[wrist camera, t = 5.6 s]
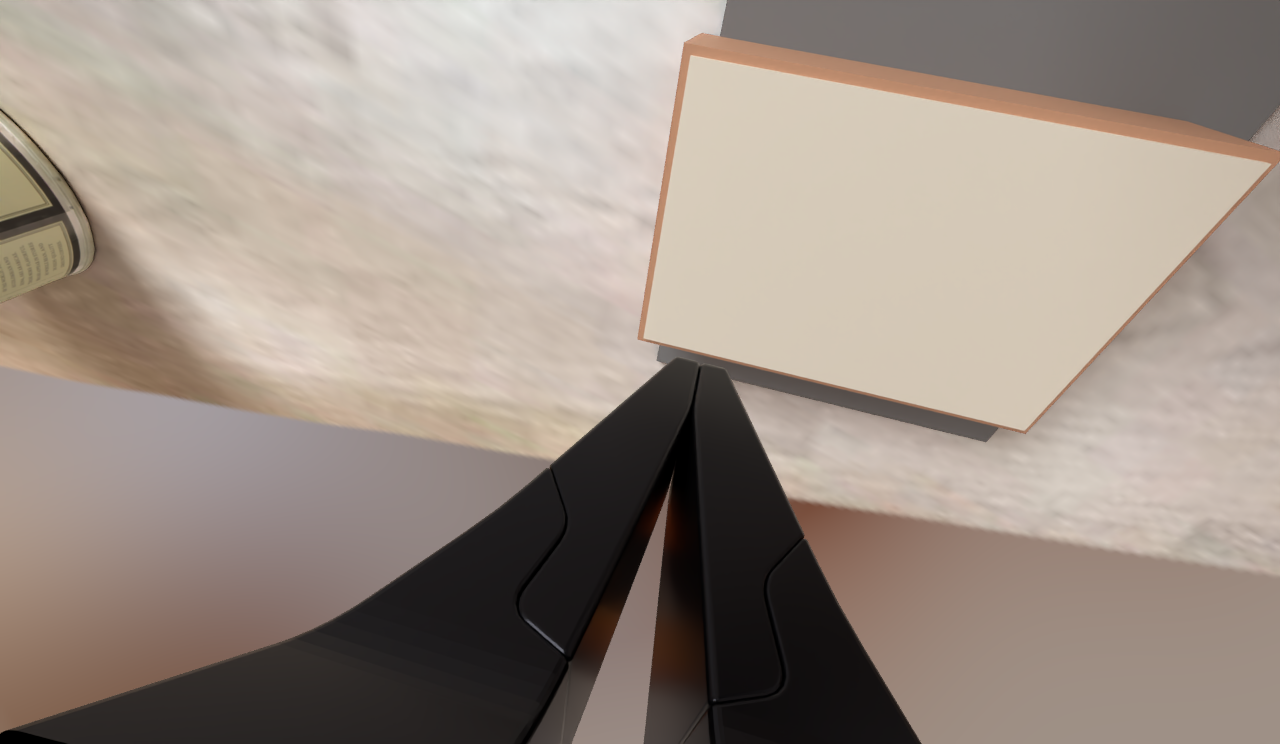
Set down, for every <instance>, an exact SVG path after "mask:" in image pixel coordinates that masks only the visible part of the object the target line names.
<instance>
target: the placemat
mask: <svg viewBox="0 0 1280 744" xmlns="http://www.w3.org/2000/svg"><path fill="white" fill-rule="evenodd" d="M720 37H726V38H731V39H737V40H742V41H748V42H753V43H759V44H764V45H770V46H775V47H781V48H786V49H792V50H797V51H803V52H808V53H814V54H820V55H825V56H831V57H836V58H842V59H847V60H853V61H858V62H864V63H869V64H875V65H880V66H886V67H891V68H897V69H902V70H908V71H913V72H919V73H924V74H930V75H935V76H941V77H946V78H952V79H957V80H963V81H968V82H974V83H979V84H985V85H990V86H996V87H1001V88H1007V89H1012V90H1018V91H1023V92H1029V93H1034V94H1040V95H1045V96H1051V97H1056V98H1062V99H1067V100H1073V101H1078V102H1084V103H1089V104H1095V105H1100V106H1106V107H1111V108H1117V109H1122V110H1128V111H1133V112H1139V113H1144V114H1150V115H1155V116H1161V117H1166V118H1172V119H1177V120H1183V121H1188V122H1191V123H1194V124H1197V125H1200V126H1203V127H1206V128H1209V129H1213V130H1216V131H1219V132H1222V133H1225V134H1228V135H1231V136H1234V137H1237V138H1240V139H1243V140H1246V141H1249V140H1250V139H1251V137H1252V136H1253V135H1254V134H1255V133H1256V132H1257V130H1258V129H1259V128H1260V127H1261V126H1262V125H1263V124H1264V122H1265V121H1266V120H1267V119H1268V118H1269V117H1270V116H1271V114H1272V113H1273V112H1274V111H1275V110H1276V109H1277V108H1278V106H1279V105H1280V0H727V4H726V9H725V14H724V19H723V24H722V29H721V34H720ZM675 357H681V358H685V359H689V360H693V361H697V362H698V363H699V364H700V366H701V365H702V364H704V363H705V364H710V365H714V366H718V367H722V368H725V369H726V370H727V372H728V374H729V376H730V378H731V379H732V380H736V381H740V382H745V383H749V384H753V385H757V386H761V387H765V388H769V389H773V390H777V391H781V392H785V393H789V394H793V395H797V396H801V397H805V398H809V399H813V400H818V401H822V402H826V403H830V404H834V405H838V406H842V407H846V408H850V409H854V410H858V411H862V412H866V413H870V414H874V415H878V416H882V417H886V418H891V419H895V420H899V421H903V422H907V423H911V424H915V425H919V426H923V427H927V428H931V429H935V430H939V431H943V432H947V433H951V434H955V435H959V436H964V437H968V438H972V439H976V440H980V441H984V442H987V441H988V439H989V438H990V437H991V436H992V435H993V434H994V432H995V431H996V430H997V429H998V428H999V427H996V426H991V425H987V424H983V423H979V422H975V421H971V420H967V419H963V418H959V417H954V416H950V415H946V414H942V413H938V412H934V411H930V410H926V409H922V408H917V407H913V406H909V405H905V404H901V403H897V402H893V401H889V400H885V399H880V398H876V397H872V396H868V395H864V394H860V393H856V392H852V391H848V390H843V389H839V388H835V387H831V386H827V385H823V384H819V383H815V382H811V381H806V380H802V379H798V378H794V377H790V376H786V375H782V374H778V373H774V372H769V371H765V370H761V369H757V368H753V367H749V366H745V365H741V364H737V363H732V362H728V361H724V360H720V359H716V358H712V357H708V356H704V355H700V354H695V353H691V352H687V351H683V350H679V349H675V348H671V347H667V346H663V345H660V346H659V351H658V356H657V361H659V362H663V363H667V364H668V363H669V362H670V361H671V360H673V359H674V358H675Z"/></svg>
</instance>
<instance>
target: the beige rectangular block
mask: <svg viewBox="0 0 1280 744" xmlns="http://www.w3.org/2000/svg"><path fill="white" fill-rule="evenodd" d="M1279 161H1280V151H1277V150H1274V149H1271V148H1268V147H1265V146H1262V145H1259V144H1256V143H1252V142H1249V141H1246V140H1243V139H1240V138H1237V137H1234V136H1231V135H1228V134H1225V133H1222V132H1219V131H1216V130H1213V129H1209V128H1206V127H1203V126H1200V125H1197V124H1194V123H1191V122H1188V121H1183V120H1177V119H1172V118H1166V117H1161V116H1155V115H1150V114H1144V113H1139V112H1133V111H1128V110H1122V109H1117V108H1111V107H1106V106H1100V105H1095V104H1089V103H1084V102H1078V101H1073V100H1067V99H1062V98H1056V97H1051V96H1045V95H1040V94H1034V93H1029V92H1023V91H1018V90H1012V89H1007V88H1001V87H996V86H990V85H985V84H979V83H974V82H968V81H963V80H957V79H952V78H946V77H941V76H935V75H930V74H924V73H919V72H913V71H908V70H902V69H897V68H891V67H886V66H880V65H875V64H869V63H864V62H858V61H853V60H847V59H842V58H836V57H831V56H825V55H820V54H814V53H808V52H803V51H797V50H792V49H786V48H781V47H775V46H770V45H764V44H759V43H753V42H748V41H742V40H737V39H731V38H726V37H720V36H715V35H709V34H704V33H701V34H699V35H697V36H695V37H694V38H692V39H690V40H688V41H686V42H684V47H683V53H682V60H681V66H680V72H679V79H678V85H677V91H676V98H675V104H674V110H673V117H672V123H671V129H670V136H669V142H668V149H667V155H666V161H665V168H664V174H663V180H662V187H661V193H660V199H659V206H658V212H657V218H656V225H655V231H654V237H653V244H652V250H651V256H650V263H649V269H648V276H647V282H646V288H645V295H644V301H643V307H642V314H641V320H640V326H639V333H638V340H642V341H646V342H650V343H654V344H658V345H663V346H667V347H671V348H675V349H679V350H683V351H687V352H691V353H695V354H700V355H704V356H708V357H712V358H716V359H720V360H724V361H728V362H732V363H737V364H741V365H745V366H749V367H753V368H757V369H761V370H765V371H769V372H774V373H778V374H782V375H786V376H790V377H794V378H798V379H802V380H806V381H811V382H815V383H819V384H823V385H827V386H831V387H835V388H839V389H843V390H848V391H852V392H856V393H860V394H864V395H868V396H872V397H876V398H880V399H885V400H889V401H893V402H897V403H901V404H905V405H909V406H913V407H917V408H922V409H926V410H930V411H934V412H938V413H942V414H946V415H950V416H954V417H959V418H963V419H967V420H971V421H975V422H979V423H983V424H987V425H991V426H996V427H1000V428H1004V429H1008V430H1012V431H1016V432H1020V433H1024V434H1026V433H1027V432H1028V430H1029V429H1030V428H1031V427H1032V426H1033V425H1034V424H1035V423H1036V422H1037V421H1038V420H1039V419H1040V418H1041V416H1042V415H1043V414H1044V413H1045V412H1046V411H1047V410H1048V409H1049V408H1050V407H1051V406H1052V405H1053V404H1054V403H1055V401H1056V400H1057V399H1058V398H1059V397H1060V396H1061V395H1062V394H1063V393H1064V392H1065V391H1066V390H1067V389H1068V388H1069V386H1070V385H1071V384H1072V383H1073V382H1074V381H1075V380H1076V379H1077V378H1078V377H1079V376H1080V375H1081V374H1082V373H1083V371H1084V370H1085V369H1086V368H1087V367H1088V366H1089V365H1090V364H1091V363H1092V362H1093V361H1094V360H1095V359H1096V357H1097V356H1098V355H1099V354H1100V353H1101V352H1102V351H1103V350H1104V349H1105V348H1106V347H1107V346H1108V345H1109V344H1110V342H1111V341H1112V340H1113V339H1114V338H1115V337H1116V336H1117V335H1118V334H1119V333H1120V332H1121V331H1122V330H1123V329H1124V327H1125V326H1126V325H1127V324H1128V323H1129V322H1130V321H1131V320H1132V319H1133V318H1134V317H1135V316H1136V315H1137V314H1138V312H1139V311H1140V310H1141V309H1142V308H1143V307H1144V306H1145V305H1146V304H1147V303H1148V302H1149V301H1150V300H1151V298H1152V297H1153V296H1154V295H1155V294H1156V293H1157V292H1158V291H1159V290H1160V289H1161V288H1162V287H1163V286H1164V285H1165V283H1166V282H1167V281H1168V280H1169V279H1170V278H1171V277H1172V276H1173V275H1174V274H1175V273H1176V272H1177V271H1178V270H1179V268H1180V267H1181V266H1182V265H1183V264H1184V263H1185V262H1186V261H1187V260H1188V259H1189V258H1190V257H1191V256H1192V255H1193V253H1194V252H1195V251H1196V250H1197V249H1198V248H1199V247H1200V246H1201V245H1202V244H1203V243H1204V242H1205V241H1206V240H1207V238H1208V237H1209V236H1210V235H1211V234H1212V233H1213V232H1214V231H1215V230H1216V229H1217V228H1218V227H1219V226H1220V224H1221V223H1222V222H1223V221H1224V220H1225V219H1226V218H1227V217H1228V216H1229V215H1230V214H1231V213H1232V212H1233V211H1234V209H1235V208H1236V207H1237V206H1238V205H1239V204H1240V203H1241V202H1242V201H1243V200H1244V199H1245V198H1246V197H1247V196H1248V194H1249V193H1250V192H1251V191H1252V190H1253V189H1254V188H1255V187H1256V186H1257V185H1258V184H1259V183H1260V182H1261V181H1262V179H1263V178H1264V177H1265V176H1266V175H1267V174H1268V173H1269V172H1270V171H1271V170H1272V169H1273V168H1274V167H1275V165H1276V164H1277V163H1278V162H1279Z"/></svg>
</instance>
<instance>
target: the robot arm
mask: <svg viewBox="0 0 1280 744" xmlns="http://www.w3.org/2000/svg"><path fill="white" fill-rule="evenodd" d="M672 475H673V476H672ZM671 479H672V481H671ZM670 482H671V486H670V491H669V499H668V509H667V518H666V528H665V537H664V548H663V557H662V567H661V578H660V588H659V597H658V607H657V617H656V627H655V637H654V647H653V657H652V666H651V667H652V668H651V676H650V686H649V696H648V707H647V716H646V726H645V736H644V744H921V742H920V741H919V739H918V737H917V735H916V734H915V732H914V730H913V729H912V727H911V725H910V724H909V722H908V721H907V719H906V717H905V716H904V714H903V712H902V710H901V709H900V707H899V705H898V704H897V702H896V700H895V699H894V697H893V695H892V694H891V692H890V690H889V689H888V687H887V686H886V684H885V682H884V680H883V679H882V677H881V676H880V674H879V672H878V670H877V669H876V667H875V665H874V664H873V662H872V661H871V659H870V657H869V656H868V654H867V652H866V651H865V649H864V647H863V646H862V644H861V642H860V640H859V638H858V637H857V635H856V633H855V631H854V630H853V628H852V626H851V624H850V623H849V621H848V619H847V617H846V616H845V614H844V612H843V610H842V609H841V607H840V605H839V603H838V601H837V599H836V598H835V595H834V593H833V592H832V590H831V588H830V586H829V584H828V582H827V580H826V578H825V576H824V574H823V572H822V570H821V568H820V566H819V564H818V562H817V560H816V558H815V556H814V554H813V551H812V549H811V547H810V545H809V543H808V541H807V540H806V539H803V538H804V533H803V531H802V528H801V526H800V524H799V522H798V520H797V518H796V516H795V513H794V512H793V509H792V507H791V505H790V503H789V501H788V499H787V497H786V494H785V492H784V490H783V488H782V486H781V484H780V482H779V480H778V478H777V475H776V473H775V471H774V469H773V467H772V465H771V463H770V461H769V459H768V456H767V454H766V452H765V450H764V448H763V446H762V444H761V442H760V440H759V437H758V435H757V433H756V431H755V429H754V427H753V425H752V423H751V421H750V418H749V416H748V414H747V412H746V410H745V408H744V406H743V404H742V402H741V399H740V397H739V395H738V393H737V391H736V389H735V387H734V385H733V383H732V380H731V378H730V376H729V374H728V372H727V370H726V369H725V368H722V367H718V366H714V365H710V364H705V363H704V364H702V365H701V366H700V364H699V363H698V362H697V361H693V360H689V359H685V358H681V357H675V358H674V359H673V360H671V361H670V362H669V363H668V364H667V365H666V366H664V367H663V368H662V369H661V370H660V371H659V372H658V373H656V374H655V375H654V376H653V377H652V378H651V379H649V380H648V381H647V382H646V383H645V384H644V385H642V386H641V387H640V388H639V389H638V390H637V391H636V392H634V393H633V394H632V395H631V396H630V397H629V398H627V399H626V400H625V401H624V402H623V403H622V404H620V405H619V406H618V407H617V408H616V409H615V410H614V411H612V412H611V413H610V414H609V415H608V416H607V417H605V418H604V419H603V420H602V421H601V422H600V423H598V424H597V425H596V426H595V427H594V428H593V429H592V430H590V431H589V432H588V433H587V434H586V435H585V436H583V437H582V438H581V439H580V440H579V441H578V442H576V443H575V444H574V445H573V446H572V447H571V448H570V449H568V450H567V451H566V452H565V453H564V454H563V455H561V456H560V457H559V458H558V459H557V460H556V461H554V462H553V463H552V464H551V465H550V469H549V468H546V469H545V470H544V471H543V472H541V473H540V474H539V475H538V476H537V477H536V478H535V479H533V480H532V481H531V482H530V483H529V484H528V485H526V486H525V487H524V488H523V489H521V490H520V491H519V492H518V493H516V494H515V495H514V496H513V497H511V498H510V499H509V500H508V501H507V502H505V503H504V504H503V505H502V506H500V507H499V508H498V509H496V510H495V511H494V512H492V513H491V514H489V515H488V516H487V517H485V518H484V519H482V520H481V521H480V522H478V523H477V524H475V525H474V526H473V527H471V528H470V529H468V530H467V531H466V532H464V533H463V534H461V535H460V536H458V537H457V538H455V539H454V540H452V541H451V542H450V543H448V544H446V545H445V546H444V547H442V548H441V549H439V550H438V551H436V552H435V553H433V554H432V555H430V556H429V557H427V558H426V559H424V560H423V561H422V562H420V563H418V564H417V565H416V566H414V567H413V568H411V569H410V570H408V571H407V572H405V573H404V574H402V575H401V576H400V577H398V578H396V579H395V580H394V581H392V582H390V583H389V584H388V585H386V586H385V587H383V588H382V589H380V590H379V591H377V592H376V593H374V594H373V595H372V596H370V597H369V598H367V599H365V600H364V601H362V602H361V603H359V604H358V605H356V606H355V607H353V608H351V609H350V610H348V611H346V612H344V613H343V614H341V615H339V616H337V617H336V618H334V619H332V620H330V621H328V622H326V623H324V624H322V625H320V626H318V627H316V628H314V629H312V630H310V631H307V632H305V633H302V634H300V635H298V636H295V637H293V638H290V639H288V640H285V641H282V642H279V643H276V644H273V645H270V646H267V647H264V648H261V649H258V650H254V651H252V652H248V653H245V654H242V655H239V656H236V657H233V658H230V659H227V660H224V661H220V662H218V663H214V664H211V665H208V666H205V667H202V668H199V669H196V670H192V671H189V672H186V673H183V674H180V675H177V676H174V677H171V678H168V679H165V680H162V681H158V682H155V683H152V684H149V685H146V686H143V687H140V688H137V689H134V690H130V691H127V692H124V693H121V694H118V695H115V696H112V697H109V698H106V699H103V700H99V701H96V702H93V703H90V704H87V705H84V706H81V707H78V708H75V709H72V710H69V711H66V712H62V713H59V714H56V715H53V716H50V717H47V718H44V719H41V720H38V721H34V722H31V723H28V724H25V725H22V726H19V727H16V728H13V729H10V730H6V731H4V732H2V733H1V734H0V744H572V741H573V738H574V736H575V733H576V731H577V728H578V725H579V723H580V720H581V718H582V715H583V712H584V710H585V707H586V705H587V702H588V699H589V697H590V694H591V691H592V689H593V686H594V684H595V681H596V678H597V676H598V673H599V671H600V668H601V665H602V663H603V660H604V657H605V655H606V652H607V650H608V647H609V644H610V642H611V639H612V637H613V634H614V631H615V629H616V626H617V623H618V621H619V618H620V615H621V613H622V610H623V608H624V605H625V603H626V600H627V597H628V595H629V592H630V590H631V587H632V584H633V582H634V579H635V576H636V574H637V571H638V569H639V566H640V563H641V561H642V558H643V556H644V553H645V550H646V548H647V545H648V543H649V540H650V537H651V535H652V532H653V530H654V527H655V524H656V522H657V519H658V516H659V514H660V511H661V509H662V506H663V503H664V501H665V498H666V495H667V492H668V489H669V485H670Z"/></svg>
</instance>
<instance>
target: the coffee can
mask: <svg viewBox="0 0 1280 744" xmlns="http://www.w3.org/2000/svg"><path fill="white" fill-rule="evenodd" d="M94 252H95V247H94V243H93V237H92V232H91V229H90V225H89V222H88V220H87V218H86V216H85V214H84V213H83V211H82V209H81V206H80V204H79V202H78V200H77V199H76V197H75V195H74V193H73V192H72V190H71V189H70V188H69V186H68V185H67V183H66V182H65V180H64V179H63V177H62V176H61V174H60V173H59V172H58V171H57V170H56V169H55V168H54V166H53V165H52V164H51V163H50V161H49V160H48V159H47V158H46V157H45V156H44V155H43V153H42V152H41V151H40V150H39V148H38V147H37V146H36V145H35V144H34V143H33V142H32V141H31V140H30V139H29V138H28V137H27V135H26V134H25V133H24V132H23V131H22V130H21V129H20V128H19V127H18V126H16V125H15V124H14V123H13V122H12V121H11V120H10V119H9V118H8V117H7V116H6V115H5V114H4V113H2V112H1V111H0V303H2V302H5V301H7V300H10V299H12V298H15V297H17V296H19V295H22V294H24V293H26V292H29V291H31V290H34V289H36V288H39V287H41V286H43V285H46V284H48V283H51V282H53V281H56V280H59V279H62V278H64V277H66V276H70V275H75V274H78V273H81V272H82V271H84V270H86V269H87V268H88V267H89V266H90V265H91V263H92V261H93V258H94Z"/></svg>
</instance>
